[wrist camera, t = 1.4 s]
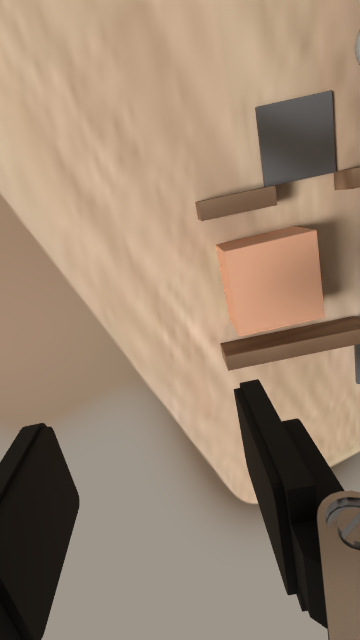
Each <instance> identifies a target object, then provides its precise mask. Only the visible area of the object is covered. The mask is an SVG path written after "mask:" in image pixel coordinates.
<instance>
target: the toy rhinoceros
mask: <svg viewBox="0 0 360 640" xmlns="http://www.w3.org/2000/svg"><path fill="white" fill-rule="evenodd" d="M355 54H356V58H357V61H358V63H359V65H360V31H359V33H358V35H357V38H356V43H355Z"/></svg>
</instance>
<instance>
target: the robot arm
mask: <svg viewBox="0 0 360 640" xmlns="http://www.w3.org/2000/svg"><path fill="white" fill-rule="evenodd" d="M234 394H235V400H236V406H237V411H238V417H239V423H240V429H241V435H242V440H243V446H244V452H245V458H246V463H247V468H248V471H249V475H250V478H251V481H252V484H253V488H254V491H255V494H256V497H257V500H258V503H259V506H260V510H261V513H262V516H263V519H264V522H265V526H266V529H267V532H268V535H269V538H270V541H271V545H272V548H273V551H274V554H275V557H276V560H277V564H278V567H279V570H280V573H281V576H282V579H283V582H284V586H285V588H286V592H287V594H288V595H292V594H297V597H298V600H299V603H300V606H301V609H302V611H308V612H309V615H310V617H311V618H312V619H314V620H315V621H317V622H318V623H320V624H321V625H322V626H324V627H325V628H327V629H328V639H329V640H360V492H355V491H344V489H343V488H342V486H341V485H340V483H339V481H338V480H337V478H336V477H335V475H334V474H333V472H332V470H331V469H330V467H329V465H328V464H327V462H326V461H325V459H324V457H323V456H322V454H321V453H320V451H319V450H318V448H317V446H316V445H315V443H314V442H313V440H312V438H311V437H310V435H309V434H308V432H307V430H306V429H305V427H304V426H303V424H302V423H301V421H300V420H299V419H292V420H287V421H282V422H281V420H280V418H279V416H278V414H277V412H276V411H275V409H274V407H273V405H272V403H271V401H270V399H269V398H268V396H267V394H266V392H265V390H264V388H263V386H262V385H261V383H260V381H259V380H258V379H257V380H252V381H247V382H242V383H240V388H238V389H234ZM78 509H79V495H78V492H77V489H76V487H75V484H74V482H73V479H72V477H71V474H70V472H69V469H68V466H67V464H66V461H65V459H64V456H63V454H62V451H61V448H60V446H59V443H58V441H57V438H56V435H55V433H54V430H53V429H52V427H47V426H46V425H45V424H44V423H40V424H35V425H30V426H25V427H23V428H22V429H21V430H20V432H19V433H18V435H17V437H16V438H15V440H14V441H13V443H12V445H11V446H10V448H9V449H8V451H7V452H6V454H5V456H4V458H3V459H2V460H1V462H0V640H41V639H42V637H43V634H44V631H45V628H46V624H47V621H48V617H49V613H50V610H51V606H52V603H53V599H54V596H55V592H56V588H57V585H58V581H59V578H60V574H61V570H62V567H63V563H64V560H65V556H66V552H67V549H68V545H69V541H70V538H71V535H72V531H73V527H74V524H75V520H76V516H77V513H78Z"/></svg>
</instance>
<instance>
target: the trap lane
mask: <svg viewBox="0 0 360 640" xmlns="http://www.w3.org/2000/svg"><path fill="white" fill-rule="evenodd" d="M255 110H256V119H257V128H258V136H259V145H260V154H261V163H262V172H263V180H264V188H259V189H254V190H250V191H245V192H240V193H236V194H231V195H227V196H222V197H217V198H213V199H208V200H203V201H199V202H195V203H196V208H197V214H198V219H199V220H201V221H204V220H209V219H214V218H218V217H223V216H228V215H232V214H237V213H242V212H246V211H251V210H256V209H260V208H265V207H270V206H274V205H277V199H276V189H275V186H273V185H278V184H283V183H287V182H292V181H296V180H301V179H306V178H310V177H315V176H320V175H324V174H329V173H334V185H335V190H343V189H354V188H359V187H360V167H356V168H352V169H347V170H343V171H338V172H336V164H335V144H334V123H333V103H332V90H331V91H327V92H322V93H318V94H313V95H309V96H304V97H299V98H295V99H290V100H286V101H281V102H277V103H272V104H268V105H263V106H259V107H256V108H255ZM269 186H270V187H269ZM352 345H355V371H356V383H357V384H360V320H359V319H357V318H355V317H354V316H353V317H348V318H343V319H338V320H333V321H329V322H324V323H319V324H314V325H309V326H304V327H299V328H295V329H290V330H285V331H280V332H275V333H270V334H265V335H260V336H256V337H251V338H246V339H241V340H236V341H231V342H226V343H222V344H221V348H222V354H223V358H224V361H225V363H226V366H227V368H228V371H229V370H234V369H239V368H243V367H248V366H253V365H258V364H263V363H268V362H273V361H278V360H283V359H288V358H293V357H297V356H302V355H307V354H312V353H317V352H322V351H327V350H332V349H337V348H342V347H347V346H352Z"/></svg>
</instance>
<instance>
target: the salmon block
mask: <svg viewBox="0 0 360 640" xmlns="http://www.w3.org/2000/svg"><path fill="white" fill-rule="evenodd" d="M216 249H217V255H218V260H219V265H220V270H221V275H222V281H223V286H224V291H225V296H226V302H227V307H228V312H229V317H230V320H231V322H232V324H233V326H234V327H235V329H236V331H237V333H238V334H239V336H244V335H249V334H253V333H257V332H262V331H266V330H271V329H275V328H279V327H284V326H288V325H292V324H297V323H301V322H306V321H310V320H314V319H319V318H323V317H325V316H324V305H323V294H322V283H321V273H320V262H319V251H318V240H317V230H313V229H308V228H302V227H296V226H294V227H290V228H285V229H281V230H277V231H273V232H268V233H264V234H260V235H256V236H252V237H247V238H243V239H239V240H235V241H230V242H226V243H222V244H218V245H216Z"/></svg>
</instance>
